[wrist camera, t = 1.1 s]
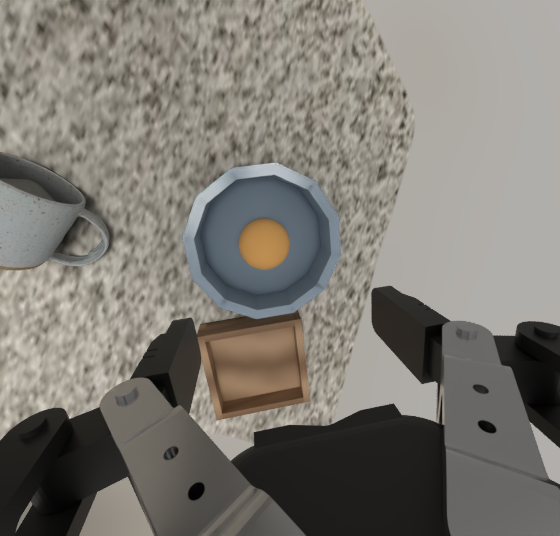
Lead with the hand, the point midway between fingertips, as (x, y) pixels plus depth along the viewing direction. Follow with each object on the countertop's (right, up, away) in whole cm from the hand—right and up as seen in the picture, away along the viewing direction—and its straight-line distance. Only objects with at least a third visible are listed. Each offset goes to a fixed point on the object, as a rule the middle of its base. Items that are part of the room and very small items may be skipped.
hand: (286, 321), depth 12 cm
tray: (-3, -9, +23) cm, 25 cm away
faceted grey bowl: (-2, +6, +19) cm, 20 cm away
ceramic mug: (-23, +8, +16) cm, 29 cm away
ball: (-2, +5, +16) cm, 16 cm away
